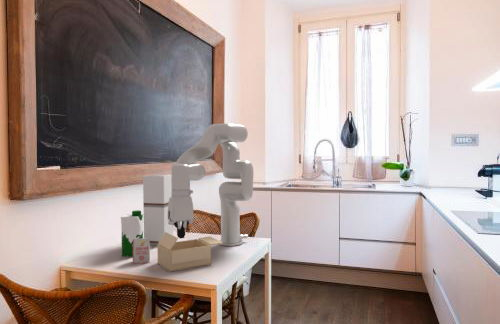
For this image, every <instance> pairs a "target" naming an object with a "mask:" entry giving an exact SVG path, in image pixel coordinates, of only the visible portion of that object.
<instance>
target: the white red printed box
mask: <svg viewBox="0 0 500 324" xmlns="http://www.w3.org/2000/svg"><path fill="white" fill-rule="evenodd" d="M150 261H151V245H150V238H144V237H143V239H133V257H132V264H147V263H148V262H149V263H150Z"/></svg>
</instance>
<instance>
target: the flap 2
mask: <svg viewBox="0 0 500 324" xmlns="http://www.w3.org/2000/svg"><path fill="white" fill-rule="evenodd" d="M198 240H200V241H202V242H204V243H207V244H209V245H211V247H212V246H216V245H219V244H223V242H222V241H219V240H220V239H217V238H214V237H212V236H205V237H198Z"/></svg>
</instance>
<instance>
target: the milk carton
mask: <svg viewBox="0 0 500 324" xmlns="http://www.w3.org/2000/svg"><path fill="white" fill-rule="evenodd" d="M120 223H121V225H120V227H121V257H128V258H129V257H132V258H133V239H144V213H142V210H132V211H131V213H128V214H124V215H122V216H120Z"/></svg>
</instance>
